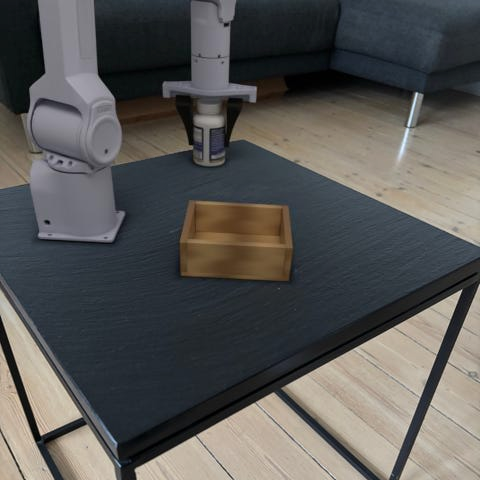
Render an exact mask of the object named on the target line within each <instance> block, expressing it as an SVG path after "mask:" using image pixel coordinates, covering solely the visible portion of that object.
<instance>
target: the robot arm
mask: <svg viewBox="0 0 480 480" xmlns="http://www.w3.org/2000/svg"><path fill="white" fill-rule="evenodd" d="M187 2H188V3H190V43H191V44H190V48H191V49H190V51H191V53H190V56H191V57H190V59H191V61H190V62H191V63H190V64H191V70H190V71H191V80H185V81H184V80H183V81H167V80H166V81H165V80H164V81H163V83H162V97H163V98H165V99H166V98H167V99H170V98H175V102H174V106H175V109H176V111H177V113H178V115H179V117H180V119H181V122H182V124H183V126H184V129H185V133H186V136H187V141H188V146H192V147H193V117H194V99H218V100H221V101H222V100H223V101H226V117H225V119H226V135H225V148H230V141H231V136H232V134H233V131H234V128H235V125H236V123H237V120H238V119H239V116H240V115H241V112H242V110H243V107H244V102H249V103H255V104H256V103H257V91H258V90H257V88H258V87H257V86H255V85H253V86H252V85H244V84H239V83H232V82H230V81H229V79H230V78H229V77H230V75H229V74H230V51H231V50H230V48H231V47H230V46H231V21H233V20H234V16H235V11H236V10H235V9H236V4H237V0H187ZM37 5H38V13H39V14H38V15H39V25H40V33H41V41H42V42H41V43H42V53H43V60H44V61H43V62H44V72H45V73H44V74H43V75H42V76H41V77H40V78H39V79H37V80H36V81H35V82H34V83H33V84H32V85H31V86H30V87H29V88H28V89H29V100H30V101H29V109H28V113H27V116H26V130H27V133H28V137H29V139H30V141H31V142H32V143H33V145H34V146H35V147H36V148H37V149H39V150H41V151H42V157H43V158H36V159H34V161H33V162H32V164H31V165H30V166H31V167H30V171H29V188H30V194H31V195H30V196H31V200H32V204H33V209H34V213H35V218H36V222H37V226H38V231H39V232H38V234H37V238H38V239H39V240H53V241H54V240H55V241H71V242H73V241H74V242H88V243H89V242H91V243H113V242H114V241H115V239H116V237H117V235H118V232H119V230H120V227H121V226H122V223H123V220H124V218H125V217H126V212H125V211H124V210H116V202H115V192H114V184H113V174H112V164H114V163H116V161H115V160H116V158H117V157H118V155H119V153H120V152H121V151H120V150H121V148H122V142H123V131H122V126H121V122H120V121H119V118H118V115H117V109H116V99H115V97H114V95H113V93H111V91H110V89H109V87H108V86H106V84H105V83H104V82H103V81H102V79H101V78H100V76H99V72H98V54H97V53H98V52H97V37H96V36H97V35H96V34H97V33H96V17H95V16H96V15H95V1H94V0H37Z"/></svg>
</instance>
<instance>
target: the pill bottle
mask: <svg viewBox="0 0 480 480" xmlns="http://www.w3.org/2000/svg"><path fill="white" fill-rule="evenodd" d="M196 111H197V113H196V114H195V115H193V146H192V159H193V162H194V163H195V164H196V165H198V166H201V167H219V166H221V165H223V164H225V161H226V147H225V135H226V117H225V116H224V115H223V114H221V113H222V112H223V101H222V100H221V99H203V98H198V99H197V100H196Z"/></svg>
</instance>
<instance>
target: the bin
mask: <svg viewBox="0 0 480 480" xmlns="http://www.w3.org/2000/svg"><path fill="white" fill-rule="evenodd" d="M289 207H290V206H289V205H283V204H281V205H280V204H264V203H263V204H262V203H246V202H245V203H244V202H243V203H242V202H228V201H227V202H226V201H225V202H224V201H206V200H194V199H193V200H192V199H189V200H188V204H187V209H186V213H185V218H184V222H183V227H182V231H181V233H180V234H181V235H180V238H179V262H180V264H179V265H180V276H181V277H196V278H215V279H216V278H217V279H236V280H237V279H238V280H255V281H273V282H290V275H291V266H292V260H293V250H294V245H293V236H292V228H291V227H292V226H291V217H290V209H289Z"/></svg>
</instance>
